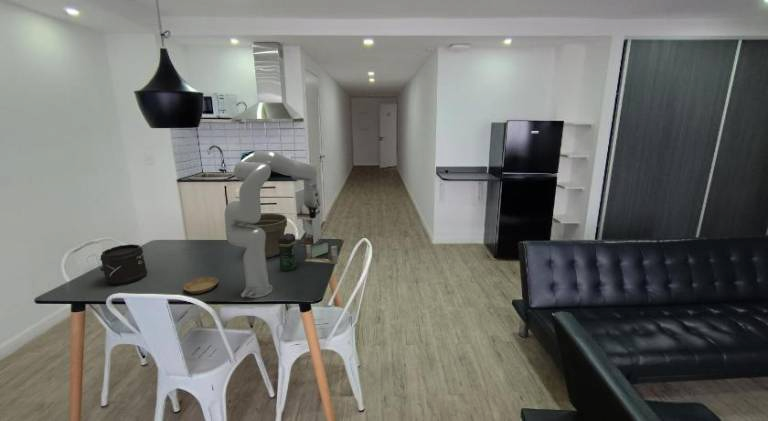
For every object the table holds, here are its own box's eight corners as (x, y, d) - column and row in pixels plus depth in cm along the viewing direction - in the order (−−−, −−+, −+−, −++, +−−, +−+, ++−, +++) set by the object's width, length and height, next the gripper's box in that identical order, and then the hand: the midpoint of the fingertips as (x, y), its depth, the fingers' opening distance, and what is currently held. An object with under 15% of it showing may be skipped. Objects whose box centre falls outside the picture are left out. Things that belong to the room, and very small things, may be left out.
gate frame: (336, 264, 190) (335, 248, 188) (305, 261, 195) (303, 245, 192) (338, 261, 194) (338, 245, 192) (308, 258, 199) (307, 243, 196)
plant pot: (296, 253, 206) (294, 219, 200) (255, 265, 190) (251, 227, 185) (279, 243, 224) (276, 211, 219) (240, 252, 209) (236, 218, 203)
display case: (306, 239, 230) (303, 188, 221) (321, 240, 228) (318, 188, 219) (299, 245, 219) (295, 191, 210) (315, 246, 217) (311, 192, 208)
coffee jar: (291, 271, 181) (289, 238, 177) (278, 270, 183) (274, 237, 178) (299, 264, 190) (297, 232, 186) (286, 263, 192) (283, 231, 187)
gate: (312, 257, 197) (312, 248, 196) (311, 257, 198) (310, 248, 196) (328, 251, 206) (327, 243, 204) (326, 251, 207) (326, 242, 205)
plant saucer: (176, 294, 160) (175, 289, 159) (199, 280, 173) (198, 275, 173) (203, 297, 156) (203, 292, 156) (225, 283, 170) (224, 278, 170)
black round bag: (104, 277, 177) (97, 248, 173) (146, 268, 188) (140, 241, 184) (103, 290, 163) (96, 259, 159) (149, 280, 174) (143, 250, 170)
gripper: (324, 187, 193) (326, 218, 198) (307, 184, 203) (309, 214, 207) (313, 189, 188) (316, 221, 193) (297, 186, 197) (299, 217, 202)
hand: (312, 217), depth 200 cm, fingers closed
